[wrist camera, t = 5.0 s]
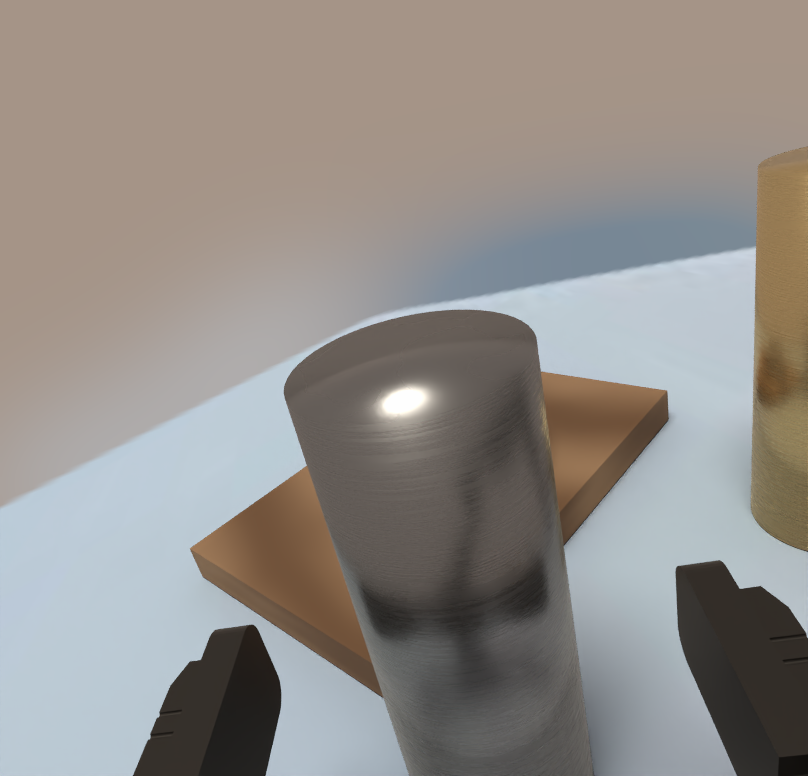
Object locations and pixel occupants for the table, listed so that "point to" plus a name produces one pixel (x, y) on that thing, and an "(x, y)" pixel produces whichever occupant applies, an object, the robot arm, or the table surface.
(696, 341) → the table surface
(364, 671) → the socket board
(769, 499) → the brass peg
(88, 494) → the table surface
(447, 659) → the steel peg
